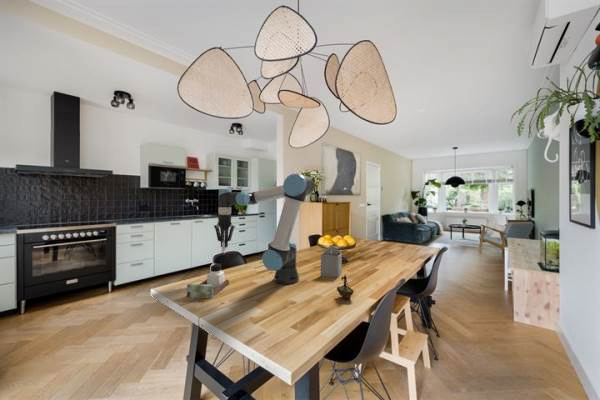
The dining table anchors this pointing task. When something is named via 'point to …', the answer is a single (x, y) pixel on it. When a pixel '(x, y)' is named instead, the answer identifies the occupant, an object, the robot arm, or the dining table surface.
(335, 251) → the grey box
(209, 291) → the guide channel
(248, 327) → the dining table surface
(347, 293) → the figurine
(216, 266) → the medicine bottle
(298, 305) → the dining table surface
